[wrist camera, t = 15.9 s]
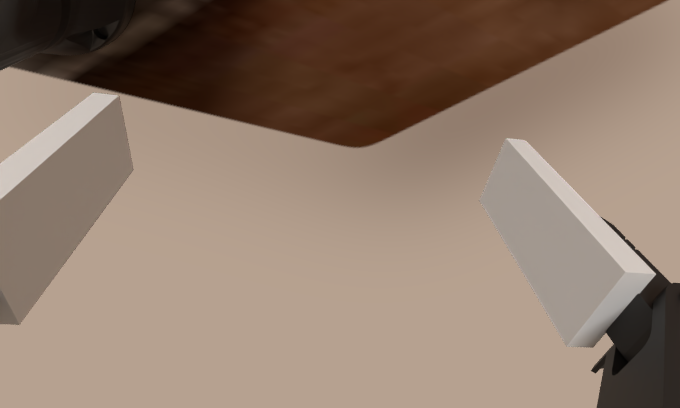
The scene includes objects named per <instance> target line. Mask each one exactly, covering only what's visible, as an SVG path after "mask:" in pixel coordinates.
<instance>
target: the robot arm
mask: <svg viewBox="0 0 680 408" xmlns="http://www.w3.org/2000/svg"><path fill="white" fill-rule="evenodd" d="M134 5H135V0H0V70H3V69H5V68H7V67H9V66H11V65H13V64H16V63H18V62H20V61H22V60H24V59H26V58H29V57H31V56H33V55H35V54H37V53H45V54H55V55H80V54H85V53H89V52H93V51H95V50H97V49H100V48H101V47H103V46H105V45H107V44H109V43H110V42H112V41H113V40H115V39H116V38H117V37H118V36H119V35H120V34H121V33H122V32H123V31H124V30H125V28H126V27H127V25H128V23H129V21H130V19H131V16H132V14H133V10H134ZM132 171H133V165H132V160H131V154H130V149H129V144H128V139H127V134H126V128H125V123H124V118H123V113H122V108H121V102H120V98H119V95H111V94H103V93H94V92H93V93H92V94H91V95H90V96H88V97H87V98H85V99H84V100H83V101H82V102H80V103H79V104H78V105H76V106H75V107H74V108H72V109H71V110H70V111H68V112H67V113H66V114H64V115H63V116H62V117H61V118H59V119H58V120H57V121H55V122H54V123H53V124H51V125H50V126H49V127H47V128H46V129H45V130H43V131H42V132H41V133H40V134H38V135H37V136H36V137H34V138H33V139H32V140H31V141H29V142H28V143H26V144H25V145H24V146H23V147H21V148H20V149H19V150H17V151H16V152H15V153H13V154H12V155H11V156H9V157H8V158H7V159H5V160H4V161H3V162H2V163H0V324H16V325H19V324H21V322H22V320H23V319H24V318H25V317H26V315H27V314H28V313H29V311H30V310H31V308H32V307H33V306H34V304H35V303H36V302H37V300H38V299H39V298H40V296H41V295H42V293H43V292H44V291H45V289H46V288H47V287H48V285H49V284H50V283H51V281H52V280H53V279H54V277H55V276H56V275H57V273H58V272H59V270H60V269H61V268H62V266H63V265H64V264H65V262H66V261H67V259H68V258H69V257H70V255H71V254H72V253H73V251H74V250H75V249H76V247H77V246H78V244H79V243H80V242H81V240H82V239H83V238H84V236H85V235H86V234H87V232H88V231H89V230H90V228H91V227H92V226H93V224H94V222H95V221H96V220H97V219H98V217H99V216H100V215H101V213H102V212H103V210H104V209H105V208H106V206H107V205H108V204H109V202H110V201H111V200H112V198H113V197H114V195H115V194H116V193H117V191H118V190H119V189H120V187H121V186H122V185H123V183H124V182H125V181H126V179H127V178H128V176H129V175H130V174H131V172H132ZM480 202H481V204H482V206H483V207H484V209H485V211H486V212H487V214H488V216H489V218H490V219H491V221H492V223H493V224H494V226H495V228H496V229H497V231H498V232H499V234H500V236H501V238H502V239H503V241H504V242H505V244H506V246H507V248H508V249H509V251H510V253H511V254H512V256H513V258H514V259H515V261H516V263H517V264H518V266H519V268H520V269H521V271H522V273H523V274H524V276H525V278H526V279H527V281H528V282H529V285H530V286H531V288H532V290H533V291H534V293H535V294H536V296H537V298H538V300H539V301H540V303H541V305H542V306H543V308H544V309H545V311H546V313H547V315H548V316H549V318H550V320H551V321H552V323H553V325H554V326H555V328H556V330H557V331H558V333H559V335H560V336H561V338H562V340H563V341H564V343H565V345H566V346H568V347H570V346H571V347H594V346H595V345H596V343H597V342H598V341H599V340H600V339H601V338H602V336H603V335H604V334H605V333H607V334H608V336H609V337H610V339H611V340H612V342H613V343H614V345H613V346H612V347H611V348H610V349H609V350H608V351H607V352H606V353H605V355H604V356H603V357H602V358H601V359H600V360H599V361H598V362H597V363H596V365H595V366H594V367H593V369H592V370H591V371H592V372H594V373H596V372H597V371H598V370H599V369H601V368H604V370H603V376H602V382H601V387H600V393H599V399H598V404H597V408H680V283H672V284H671V283H670V282H669V281H668V280H667V279H666V278H665V277H664V276H663V275H662V274H661V273H660V272H659V271H658V270H657V269H656V268H655V267H654V266H653V265H652V264H651V263H650V262H649V261H648V260H647V259H646V258H645V257H644V256H643V255H642V254H641V253H640V251H638V250H635V247H634V245H633V244H631V242H629V240H625V236H623V234H622V233H621V232H620V231H619V230H618V229H617V228H616V227H615V226H614V225H612V224H611V223H609V222H608V221H606V220H605V219H603V218H602V217H600V216H599V215H598V214H597V213H596V212H595V211H594V210H593V209H592V208H591V207H590V206H589V205H588V204H587V203H586V202H585V201H584V200H583V199H582V198H581V197H580V196H579V195H578V194H577V193H576V192H575V190H574V189H573V188H572V187H571V186H570V185H569V184H568V183H567V182H566V181H565V180H564V179H563V178H562V177H561V176H560V175H559V174H558V173H557V172H556V171H555V170H554V169H553V168H552V167H551V166H550V165H549V164H548V163H547V162H546V161H545V160H544V159H543V158H542V157H541V156H540V155H539V154H538V153H537V152H536V151H535V150H534V148H532V146H531V145H530V144H529V143H527V141H526V140H518V139H509V138H506V139H505V141H504V144H503V146H502V148H501V151H500V153H499V155H498V158H497V160H496V162H495V165H494V167H493V169H492V172H491V174H490V177H489V179H488V181H487V183H486V186H485V188H484V190H483V193H482V195H481V198H480Z"/></svg>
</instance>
